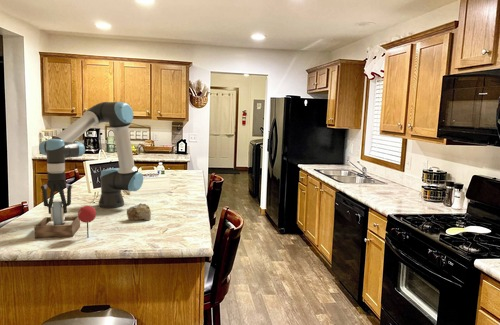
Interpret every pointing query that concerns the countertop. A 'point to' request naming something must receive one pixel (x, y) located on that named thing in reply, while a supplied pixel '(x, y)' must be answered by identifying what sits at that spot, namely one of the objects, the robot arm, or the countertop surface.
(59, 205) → the peg
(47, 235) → the box
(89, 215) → the lollipop
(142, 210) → the rock
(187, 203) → the countertop surface
